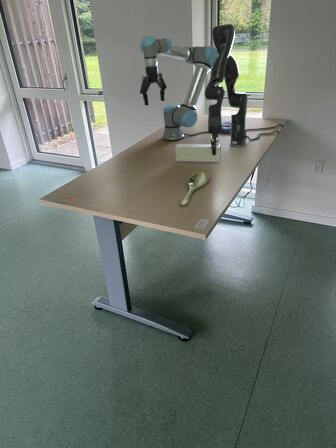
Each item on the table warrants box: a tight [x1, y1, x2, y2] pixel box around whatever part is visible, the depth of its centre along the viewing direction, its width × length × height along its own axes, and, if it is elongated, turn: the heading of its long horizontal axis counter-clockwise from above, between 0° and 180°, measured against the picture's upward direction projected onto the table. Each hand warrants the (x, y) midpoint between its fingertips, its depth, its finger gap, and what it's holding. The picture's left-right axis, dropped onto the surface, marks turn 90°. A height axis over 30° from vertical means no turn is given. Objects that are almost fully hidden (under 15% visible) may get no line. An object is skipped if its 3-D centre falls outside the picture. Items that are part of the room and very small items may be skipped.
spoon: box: [180, 171, 210, 207], centre depth 170 cm, size 35×11×2 cm, turn 159°
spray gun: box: [221, 120, 231, 134], centre depth 254 cm, size 21×4×15 cm
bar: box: [175, 143, 222, 163], centre depth 198 cm, size 26×5×9 cm, turn 75°
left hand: (154, 103), depth 210 cm, fingers open, 13 cm apart
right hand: (214, 153), depth 196 cm, fingers closed on bar, 5 cm apart
